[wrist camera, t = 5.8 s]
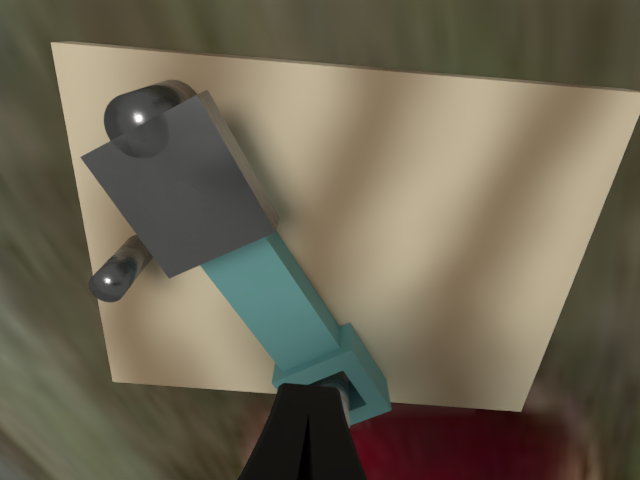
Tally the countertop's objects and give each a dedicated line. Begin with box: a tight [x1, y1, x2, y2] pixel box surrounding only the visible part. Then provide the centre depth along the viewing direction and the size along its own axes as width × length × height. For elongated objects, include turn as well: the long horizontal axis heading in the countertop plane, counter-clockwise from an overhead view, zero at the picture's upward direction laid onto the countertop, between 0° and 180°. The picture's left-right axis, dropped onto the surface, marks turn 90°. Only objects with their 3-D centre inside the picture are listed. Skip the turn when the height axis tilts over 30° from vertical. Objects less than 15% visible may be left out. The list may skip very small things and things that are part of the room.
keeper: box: [80, 80, 280, 302], centre depth 15 cm, size 6×7×5 cm
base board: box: [51, 41, 640, 412], centre depth 18 cm, size 20×15×1 cm
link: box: [200, 231, 391, 425], centre depth 18 cm, size 13×4×2 cm, turn 29°
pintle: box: [317, 371, 350, 428], centre depth 19 cm, size 1×1×3 cm
